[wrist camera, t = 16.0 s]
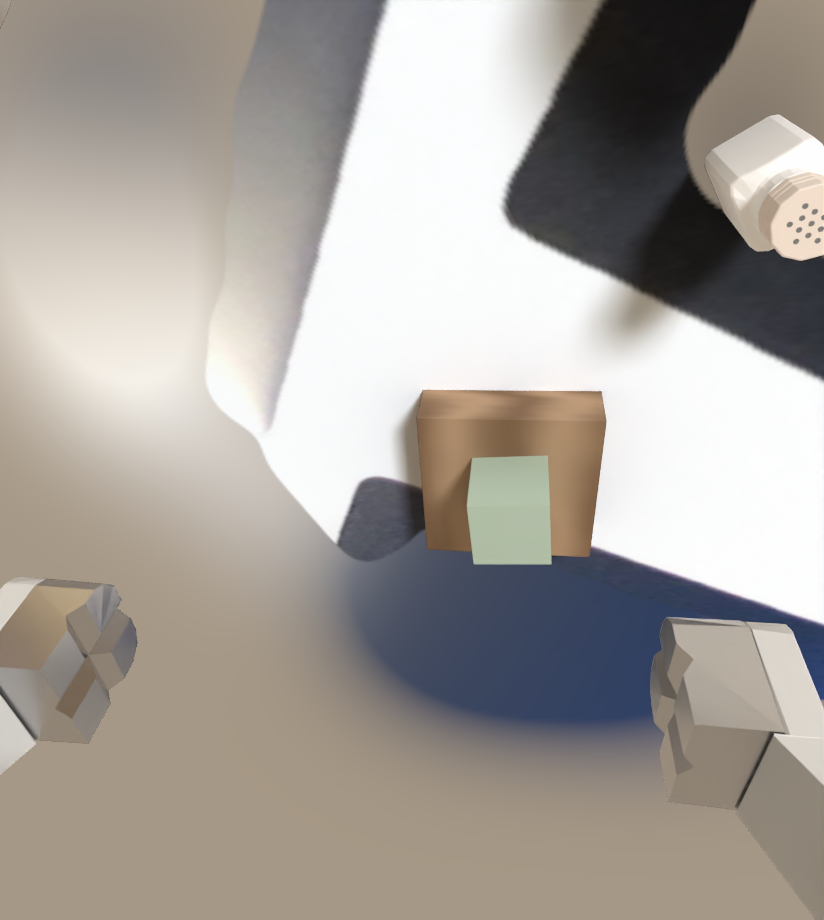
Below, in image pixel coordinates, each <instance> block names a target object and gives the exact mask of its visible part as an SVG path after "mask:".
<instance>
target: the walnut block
mask: <svg viewBox="0 0 824 920" xmlns="http://www.w3.org/2000/svg"><path fill="white" fill-rule="evenodd" d="M417 429H418V441H419V454H420V466H421V478H422V491H423V503H424V515H425V528H426V539H427V549H429V550H450V551H472V545H471V537H470V529H469V521H468V513H467V500H468V491H469V482H470V473H471V463H472V458H483V457H515V456H548V470H549V495H550V528H551V555H557V556H579V557H589V556H590V548H591V540H592V532H593V524H594V516H595V508H596V500H597V492H598V484H599V476H600V468H601V460H602V453H603V445H604V437H605V429H606V416H605V410H604V404H603V398H602V392H601V391H480V390H423V393H422V397H421V402H420V406H419V410H418V415H417Z"/></svg>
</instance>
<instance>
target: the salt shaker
mask: <svg viewBox="0 0 824 920" xmlns="http://www.w3.org/2000/svg"><path fill="white" fill-rule="evenodd" d="M705 168H706V171H707V173H708V176H709V178H710V180H711V183H712V185H713V188H714V190H715V192H716V195H717V197H718V200H719V202H720V204H721V207H722V209H723V211H724V213H725V215H726V216H727V217H728V219H729V220H730V221H731V223H732V224H733V225H734V226H735V228H736V229H737V230H738V232H739V233H740V234H741V236H742V237H743V238H744V240H745V241H746V242H747V244H748V245H749V246H750V247H751V248H752V249H754V250H755V251H769V250H771V249H774V248H775V249H776V251H777V252H778V253H779V254H780V255H781V256H782V257H786V258H790V259H795V260H799V261H802V260H806V259H810V258H814V257H818V256H822V255H824V147H823V144H821V143H820V142H819V141H818V140H817V139H816V138H814V137H813V136H811V135H810V134H808V133H807V132H805V131H804V130H802V129H801V128H799V127H798V126H796V125H794V124H793V123H791V122H790V121H788V120H787V119H785V118H784V117H782V116H780V115H773V116H769V117H767V118H765V119H763V120H762V121H760V122H758V123H757V124H755V125H753V126H751V127H750V128H748V129H746V130H745V131H743V132H741V133H740V134H738V135H736V136H735V137H733V138H731V139H729V140H728V141H726V142H725V143H722V144H721V145H719V146H717V147H716V148H714V149H712V150H711V151H710V152H709V154H708V155H707V156H706V157H705Z"/></svg>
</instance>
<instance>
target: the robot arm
mask: <svg viewBox="0 0 824 920" xmlns="http://www.w3.org/2000/svg"><path fill="white" fill-rule="evenodd" d="M10 4H11V0H0V27H1V26H2V24H3V22H4V20H5V18H6V15H7V13H8V10H9V7H10ZM120 602H121V598H120V596H119V594H118V592H117V591H116V589H115V587H114V585H109V584H100V583H89V582H78V581H66V580H56V579H43V578H29V577H16V578H14V579H12V580H11V581H9V582H7V583H5V585H4V586H3V587H2V588H1V590H0V775H1V774H2V773H3V772H4V771H5V770H6V769H7V768H9V767H10V766H11V765H12V764H13V763H14V762H16V761H17V760H18V759H19V758H20V757H21V756H23V755H24V754H25V753H26V752H27V751H28V750H30V749H31V748H32V747H33V746H34V745H35V744H36V741H35V740H38V741H39V740H40V741H53V742H67V743H82V744H89V742H90V740H91V738H92V737H93V735H94V733H95V731H96V729H97V728H98V726H99V724H100V722H101V720H102V718H103V717H104V715H105V713H106V711H107V709H108V708H109V706H110V697H109V691H108V690H109V689H111V688H112V687H113V686H115V685H116V684H117V683H119V682H120V681H122V680H123V679H124V678H125V677H126V675H127V673H128V671H129V669H130V667H131V665H132V663H133V661H134V656H135V651H136V647H137V636H136V629H135V627H134V624H133V622H132V620H131V618H129V617H128V616H127V615H125V614H124V613H123V612H121V611H120V610H118V609H117V607H118V606H119V604H120ZM660 639H661V645H662V650H661V651H660V652H658V653H657V654H655V655H654V659H653V664H652V669H651V687H650V691H651V703H652V710H653V716H654V722H655V724H656V725H657V726H658V727H659V728H660V729H661V730H662V731H663V733H664V734H665V736H664V740H663V743H662V747H661V750H660V758H661V764H662V770H663V775H664V780H665V786H666V792H667V797H668V802H675V803H683V804H691V805H699V806H707V807H715V808H723V809H731V810H737V812H736V814H737V816H738V817H739V819H740V820H741V821H742V822H743V824H744V825H745V827H746V828H747V829H748V831H749V832H750V833H751V835H752V836H753V837H754V839H755V840H756V841H757V843H758V844H759V845H760V847H761V848H762V849H763V851H764V852H765V853H766V855H767V856H768V857H769V859H770V860H771V861H772V863H773V864H774V865H775V867H776V868H777V869H778V871H779V872H780V873H781V875H782V876H783V877H784V879H785V880H786V881H787V883H788V884H789V885H790V887H791V888H792V889H793V891H794V892H795V893H796V895H797V896H798V897H799V899H800V900H801V901H802V903H803V904H804V905H805V906H806V908H807V909H808V911H809V912H810V913H811V915H812V916H813V917H814V919H815V920H824V709H823V706H822V704H821V701H820V699H819V696H818V694H817V691H816V689H815V686H814V684H813V681H812V679H811V676H810V674H809V671H808V669H807V666H806V664H805V662H804V659H803V657H802V654H801V652H800V649H799V647H798V644H797V642H796V639H795V637H794V634H793V632H792V630H791V629H790V628H789V627H788V626H787V625H786V624H773V623H756V622H742V621H733V620H713V619H692V618H672V617H671V618H670V617H668V618H666V619H665V620H664V622H663V624H662V628H661V631H660Z"/></svg>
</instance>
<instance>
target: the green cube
mask: <svg viewBox="0 0 824 920" xmlns="http://www.w3.org/2000/svg"><path fill="white" fill-rule="evenodd" d="M467 513H468V521H469V529H470V537H471V545H472V554H473V562H474V564H551V528H550V495H549V470H548V456H515V457H483V458H472V463H471V473H470V482H469V491H468V500H467Z"/></svg>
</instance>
